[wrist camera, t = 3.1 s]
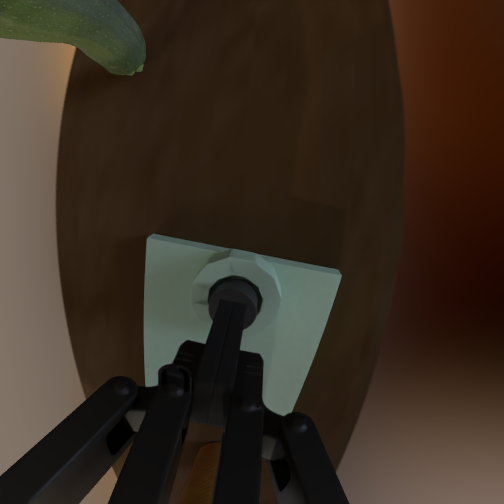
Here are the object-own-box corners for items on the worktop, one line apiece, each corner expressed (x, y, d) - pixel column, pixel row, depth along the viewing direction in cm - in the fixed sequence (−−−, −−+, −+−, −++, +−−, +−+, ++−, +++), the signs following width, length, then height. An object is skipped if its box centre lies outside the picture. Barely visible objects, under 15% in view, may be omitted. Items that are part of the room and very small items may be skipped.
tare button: (253, 322, 20) (252, 336, 18) (210, 313, 20) (205, 326, 18) (261, 283, 19) (261, 294, 17) (216, 273, 19) (211, 284, 17)
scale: (281, 425, 27) (282, 447, 24) (150, 399, 27) (141, 418, 24) (340, 263, 21) (350, 279, 18) (153, 227, 21) (137, 238, 18)
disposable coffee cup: (170, 441, 29) (145, 521, 18) (238, 426, 27) (226, 523, 16) (214, 475, 31) (202, 546, 20) (277, 464, 29) (276, 544, 18)
